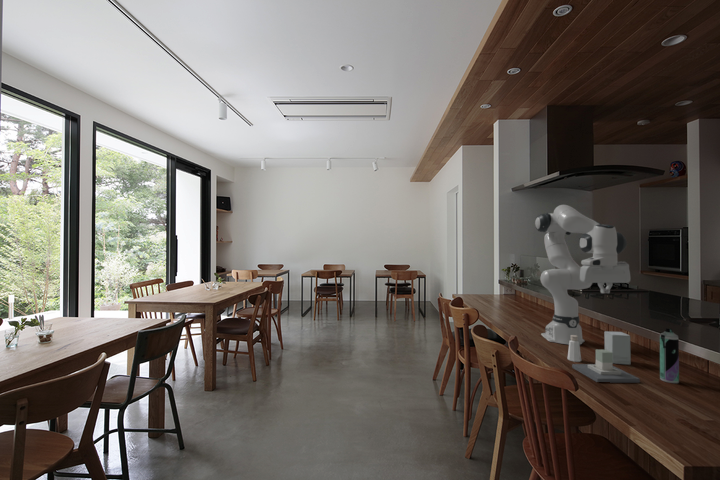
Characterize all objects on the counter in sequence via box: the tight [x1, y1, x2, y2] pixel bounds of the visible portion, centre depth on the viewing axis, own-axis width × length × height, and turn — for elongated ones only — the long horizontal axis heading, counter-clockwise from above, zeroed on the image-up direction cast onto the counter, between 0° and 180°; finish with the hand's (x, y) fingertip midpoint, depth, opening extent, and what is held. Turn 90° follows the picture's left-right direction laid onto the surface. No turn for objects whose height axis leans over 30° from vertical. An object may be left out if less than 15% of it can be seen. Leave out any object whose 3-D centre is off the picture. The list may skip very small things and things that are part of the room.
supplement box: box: [604, 331, 632, 366], centre depth 158 cm, size 7×7×13 cm
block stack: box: [595, 349, 614, 371], centre depth 142 cm, size 4×4×8 cm
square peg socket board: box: [571, 363, 641, 384], centre depth 142 cm, size 16×16×3 cm
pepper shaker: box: [567, 335, 582, 363], centre depth 160 cm, size 5×5×11 cm
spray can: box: [659, 327, 680, 384], centre depth 136 cm, size 6×6×20 cm
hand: (605, 293), depth 154 cm, fingers closed
